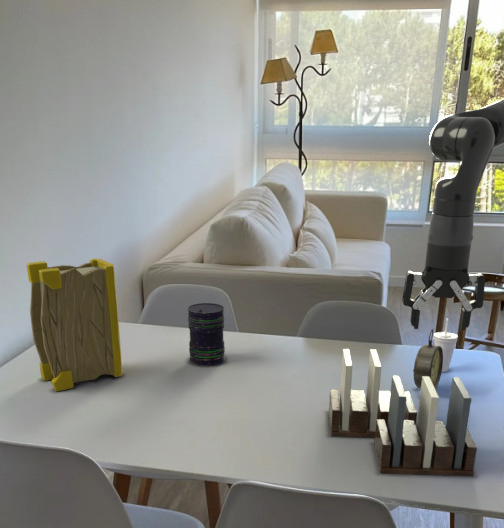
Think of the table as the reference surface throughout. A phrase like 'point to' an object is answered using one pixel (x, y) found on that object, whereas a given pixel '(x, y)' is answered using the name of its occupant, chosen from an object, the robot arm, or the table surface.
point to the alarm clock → (428, 363)
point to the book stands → (410, 437)
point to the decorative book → (75, 321)
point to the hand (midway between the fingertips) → (438, 328)
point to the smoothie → (445, 345)
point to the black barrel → (206, 334)
